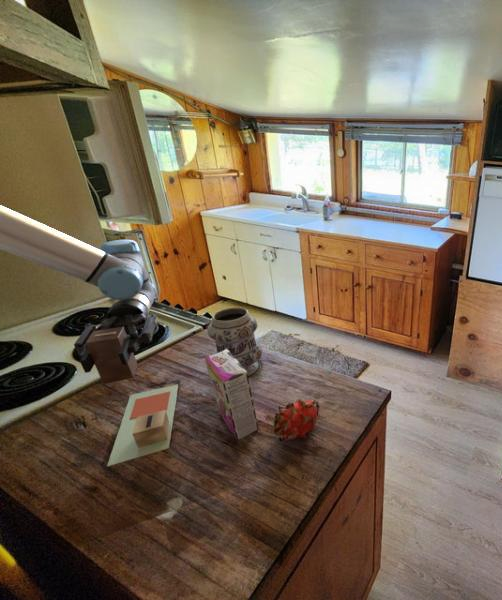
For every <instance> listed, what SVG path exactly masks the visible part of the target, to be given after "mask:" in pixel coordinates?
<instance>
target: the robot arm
mask: <svg viewBox="0 0 502 600" xmlns="http://www.w3.org/2000/svg"><path fill="white" fill-rule="evenodd" d="M0 250H1V251H4V252H7V253H10V254H12V255H14V256H17V257H20V258H22V259H25V260H28V261H30V262H33V263H35V264H38V265H40V266H43V267H46V268H48V269H51V270H54V271H56V272H59V273H62V274H64V275H66V276H69V277H72V278H74V279H77V280H80V281H82V282H85V283H87V284H90V285H92V286H95V287H97V288H98V289H99V291H100V292H101V293H102V294H103V296H105V297H107V298H109V299H112V300H114V302H113V303H112V304H111V306H110V308H109V310H108V311H107V313H106V316H105V319H104V320H102V321H101V322H100V323H99V324H92V323H87V324H84V328H85V329H83V331H82V332H81V334H80V335H79V337H78V338H77V339H76V341H74V343H73V346H74V348H75V351H76V353H77V355H78V356H80V360H79V363H80V364H81V367H82V369H83V372H84V373H85V374H86V373H91V371H92V370H93V368H94V366H95V364H94V361H93V359H92V357H91V354H90V352H89V350H88V348H87V345H86V342H87V340H88V339H89V337H90V336H91V334H92V332H93V331H98V330H104V329H111V328H117V327H124V329H125V332H126V333H129V337H128V336H127V337H128V338H125V340H124V342H123V345H122V347H121V349H120V351H119V353H118V355H119V358H120V360H121V363H122V365H127V364H128V361H129V359H130V356H131V354H132V353H137V352H138V349H139V347H140V346H141V345H142V344H143V343H144V344H150V343H151V342H152V340H153V336H154V333H155V330H156V327H158V326H159V324H160V322H159V318H158V316H157V314H156V313H154V314H150V315H149V313H150V312H151V311H150V310H151V308H152V306H153V304H154V302H155V300H156V297H157V290H156V287H155V285H154V284H153V283H152V282H151V281H150V278H149V276H148V272H147V270H146V269H147V268H146V266H145V262H144V259H143V256H142V251H141V249H140V247H139V244H138V242H137V241H135V240H132V239H115V240H109V241H107V242H103V243H102V244H101V245H100V249H99V248H97V247H94V246H92V245H90V244H87V243H85V242H83V241H81V240H78V239H77V238H74V237H72V236H70V235H67V234H65V233H63V232H61V231H58V230H56V229H54V228H52V227H49V226H47V225H46V224H43V223H42V222H38V221H37V220H34V219H32V218H31V217H28V216H26V215H23V214H21V213H19V212H17V211H14V210H12V209H11V208H7V207H5V206H3V205H1V204H0ZM141 328H142V330H141V333H140V334H139V333H138V330H140V329H141Z"/></svg>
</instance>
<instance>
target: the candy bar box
mask: <svg viewBox="0 0 502 600" xmlns="http://www.w3.org/2000/svg"><path fill="white" fill-rule="evenodd" d="M204 362H205V364H206V368H207V372H208V376H209V379H210V383H211V386H212V390H213V394H214V396H215V401H216V405H217V408H218V413H219V415H220V416H221V418H222V419H223V421H224V422H225V424H226V426H227V427H228V429H229V430H230V431H231V433H232V434H233V436H234V438H235V439H236V440H237V441H239V440H241V439H243V438H244V437H247V436H248V435H250V434H252V433H254V432H256V431H258V430H259V424H258V417H257V413H256V409H255V405H254V399H253V394H252V390H251V385H250V381H249V378H248V374H247V371H246V370H245V369H244V368H243V367H242V366H241V364H240V363H239V362H238V361H237V360H236V359H235V357H234V356H233V355H232V354H231V353H230V352H229V351H228V349H226V350H223V351H221V352H217V353H215V352H214V353H213V354H208V355H206V356H205V357H204Z"/></svg>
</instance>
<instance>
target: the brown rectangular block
mask: <svg viewBox="0 0 502 600" xmlns="http://www.w3.org/2000/svg"><path fill="white" fill-rule="evenodd" d="M125 338H128V335H127V332H125V329H124V327H117V328H111V329H104V330H98V331H93V332H92V334H91V336H90V337H89V339H88V340H87V342H86V345H87V348H88V350H89V352H90V354H91V357H92V359H93V361H94V366H95V368H96V371H97V373H98V375H99V377H100V380H101V382H102V384H103V385H107V384H111V383H115V382H119V381H125V380H130V379H134V378H135V374H136V371H137V368H138V365H139V364H138V362H137V359H136V357H135V354H134V353H135V352H133V353H132V354H131V356H130V359H129V361H128V364H127V365H122V363H121V360H120V358H119V355H118V353H119V351H120V349H121V347H122V345H123V342H124V340H125Z"/></svg>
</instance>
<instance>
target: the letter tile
mask: <svg viewBox="0 0 502 600" xmlns="http://www.w3.org/2000/svg"><path fill="white" fill-rule="evenodd" d="M169 426H170V422H169V419H168V416H167V414H166V411H165V410H163V411H159V412H155V413H151V414H147V415H143V416H139V417H137V419H136V423H135V426H134V430H133V433H132V434H133V437H134V439H135V441H136V444H137V446H138V448H140V447H144V446H147V445H151V444H154V443H158V442H161V441H165V440H167V439H168V432H169Z"/></svg>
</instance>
